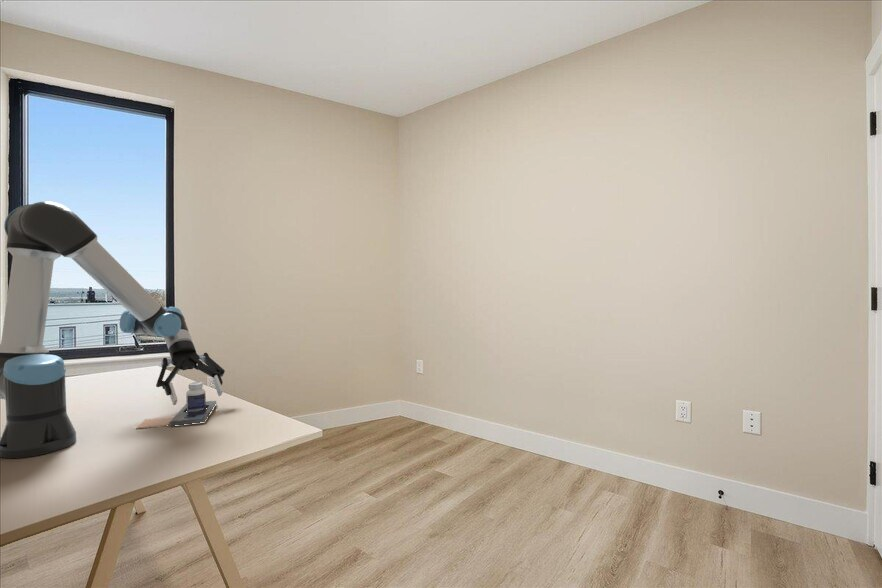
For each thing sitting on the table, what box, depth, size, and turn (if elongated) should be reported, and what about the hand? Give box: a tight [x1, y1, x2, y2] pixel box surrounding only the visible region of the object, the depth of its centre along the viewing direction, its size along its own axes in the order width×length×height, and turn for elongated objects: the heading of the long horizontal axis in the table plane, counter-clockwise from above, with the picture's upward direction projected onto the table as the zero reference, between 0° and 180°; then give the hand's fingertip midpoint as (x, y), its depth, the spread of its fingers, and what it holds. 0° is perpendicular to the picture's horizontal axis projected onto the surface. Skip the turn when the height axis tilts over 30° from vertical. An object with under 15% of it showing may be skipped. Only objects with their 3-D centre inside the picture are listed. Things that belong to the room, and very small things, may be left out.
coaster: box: [135, 416, 175, 430], centre depth 137 cm, size 8×8×1 cm
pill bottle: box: [185, 381, 207, 412], centre depth 146 cm, size 5×5×10 cm
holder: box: [169, 400, 217, 427], centre depth 144 cm, size 20×9×2 cm, turn 17°
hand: (199, 397), depth 145 cm, fingers open, 13 cm apart
